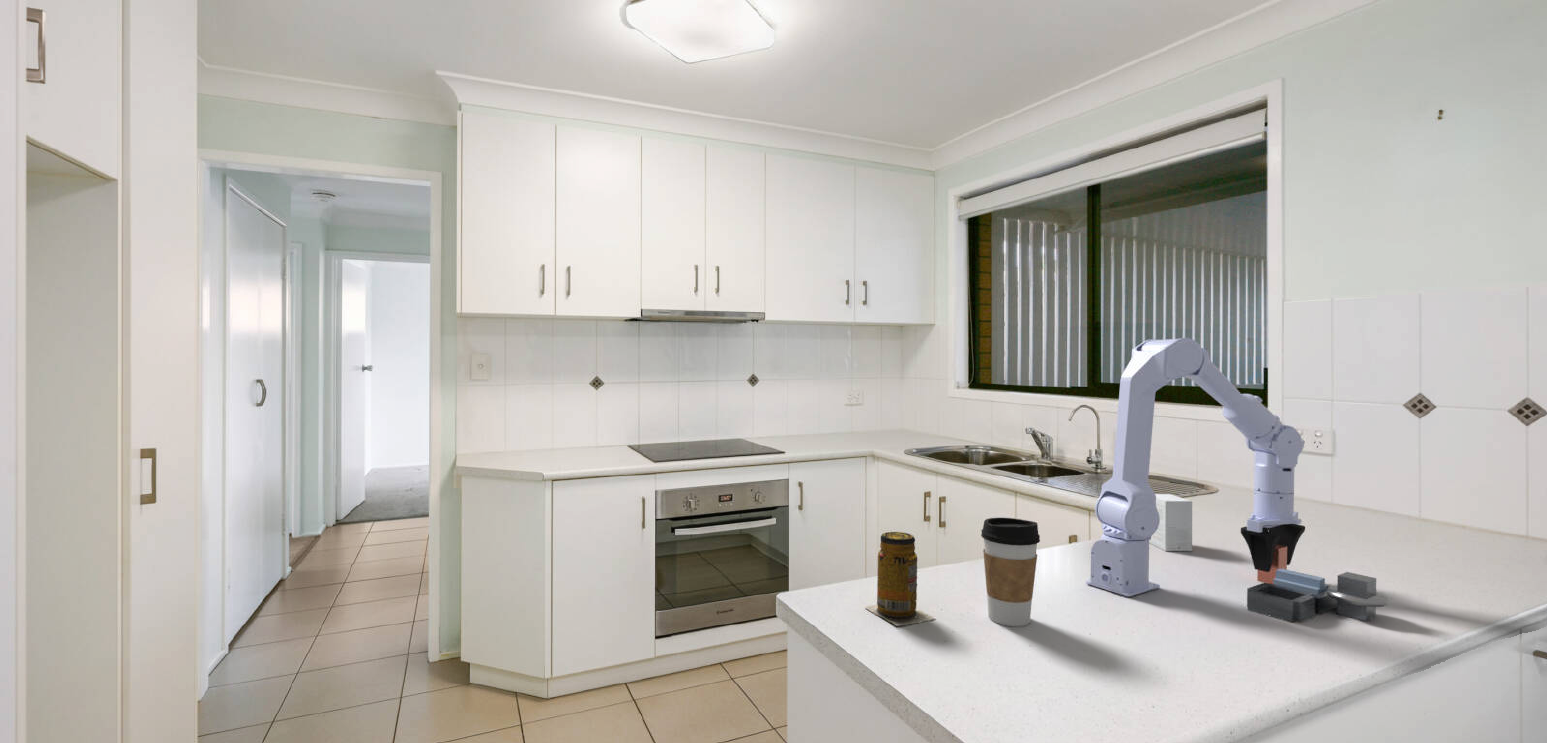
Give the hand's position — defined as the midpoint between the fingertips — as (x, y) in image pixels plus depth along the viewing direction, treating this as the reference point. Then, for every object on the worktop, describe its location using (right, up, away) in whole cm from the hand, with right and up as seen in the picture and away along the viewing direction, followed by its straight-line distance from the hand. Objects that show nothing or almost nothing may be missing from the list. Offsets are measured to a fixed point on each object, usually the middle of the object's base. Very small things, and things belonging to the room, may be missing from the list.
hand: (1272, 567), depth 120 cm
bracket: (-2, -3, -9) cm, 10 cm away
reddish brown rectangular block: (0, -3, 0) cm, 3 cm away
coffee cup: (-53, -3, -18) cm, 56 cm away
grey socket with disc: (-4, -3, -14) cm, 15 cm away
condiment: (-70, -3, -16) cm, 72 cm away
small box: (-5, -3, +22) cm, 23 cm away
